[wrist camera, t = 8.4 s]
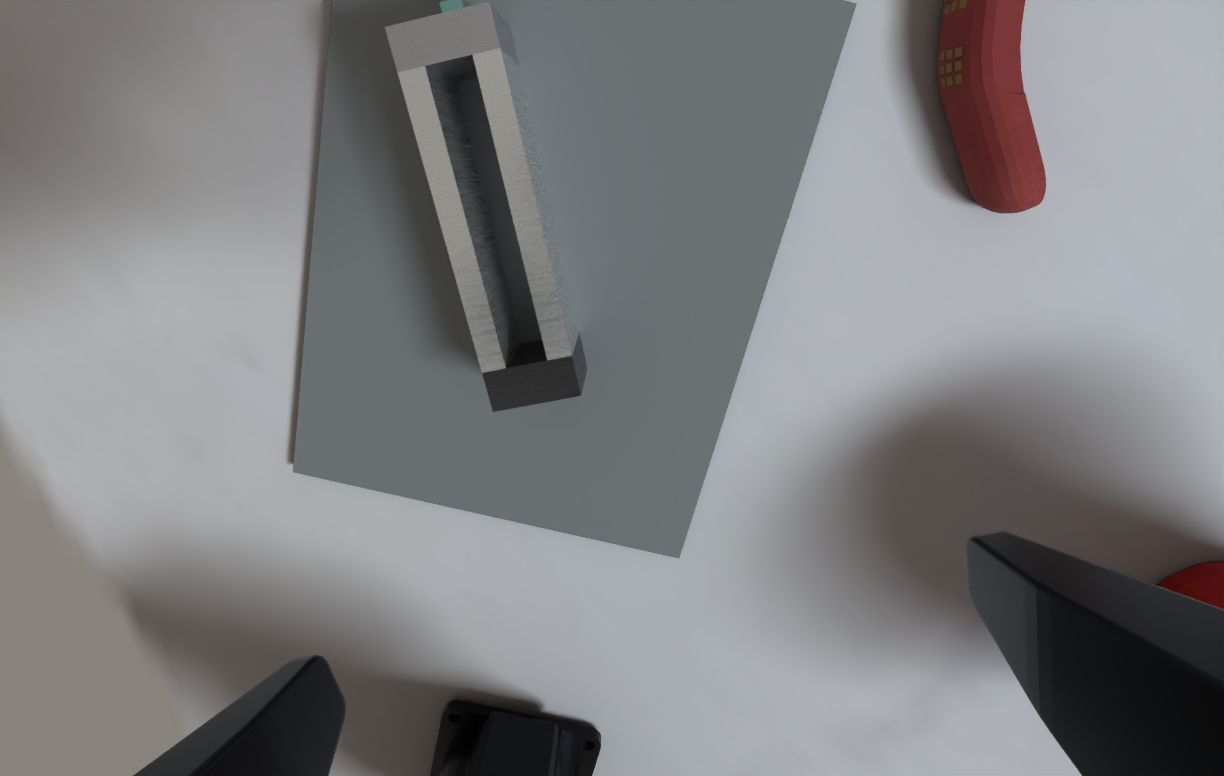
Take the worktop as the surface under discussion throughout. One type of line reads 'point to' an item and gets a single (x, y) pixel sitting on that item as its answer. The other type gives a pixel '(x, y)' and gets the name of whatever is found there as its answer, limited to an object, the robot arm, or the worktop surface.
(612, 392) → the mat
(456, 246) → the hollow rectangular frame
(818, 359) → the worktop surface
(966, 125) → the pliers
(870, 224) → the worktop surface
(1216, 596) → the plastic cup
